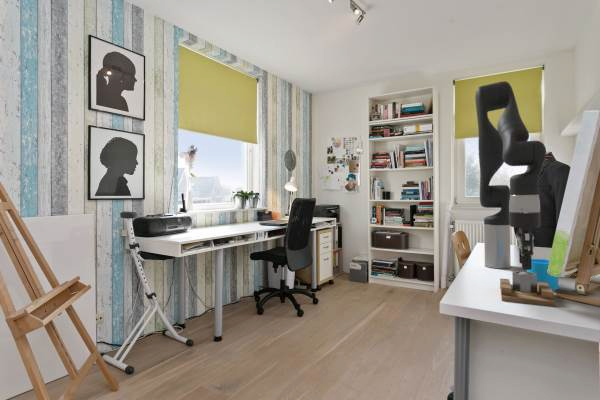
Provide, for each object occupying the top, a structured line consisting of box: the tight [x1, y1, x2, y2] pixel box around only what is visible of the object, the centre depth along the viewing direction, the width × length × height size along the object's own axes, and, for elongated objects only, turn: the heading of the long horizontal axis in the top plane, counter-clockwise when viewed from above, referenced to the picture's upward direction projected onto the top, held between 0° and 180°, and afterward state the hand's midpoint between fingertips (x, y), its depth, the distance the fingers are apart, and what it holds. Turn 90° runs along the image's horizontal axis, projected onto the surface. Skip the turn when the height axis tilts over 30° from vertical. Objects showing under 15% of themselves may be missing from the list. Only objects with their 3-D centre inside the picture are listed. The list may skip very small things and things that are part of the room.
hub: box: [511, 270, 537, 294], centre depth 101 cm, size 6×6×5 cm
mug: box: [526, 258, 560, 291], centre depth 112 cm, size 12×8×8 cm
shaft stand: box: [499, 271, 556, 307], centre depth 101 cm, size 16×12×6 cm
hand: (525, 266), depth 101 cm, fingers open, 8 cm apart
